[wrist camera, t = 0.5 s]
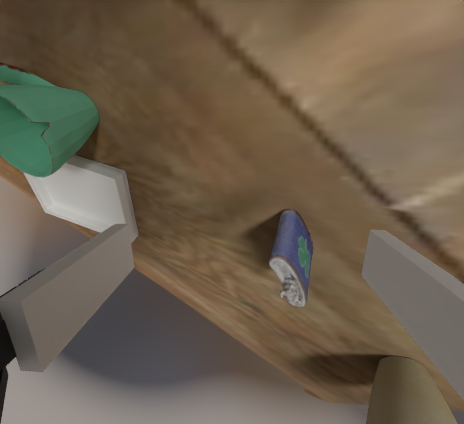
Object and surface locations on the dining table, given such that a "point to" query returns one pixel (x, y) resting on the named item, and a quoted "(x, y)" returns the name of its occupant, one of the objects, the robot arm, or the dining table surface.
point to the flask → (292, 257)
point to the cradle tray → (87, 195)
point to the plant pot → (406, 395)
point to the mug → (41, 122)
